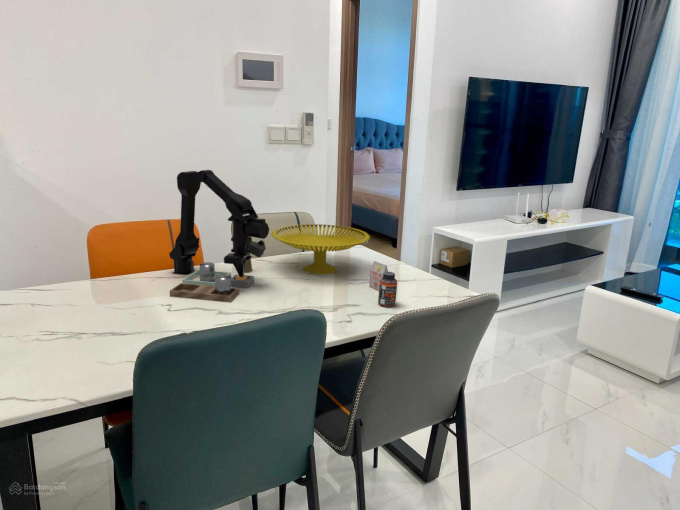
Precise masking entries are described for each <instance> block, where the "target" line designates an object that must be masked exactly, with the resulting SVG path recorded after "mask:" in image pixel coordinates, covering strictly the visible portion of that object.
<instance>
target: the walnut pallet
mask: <svg viewBox="0 0 680 510" xmlns="http://www.w3.org/2000/svg"><path fill="white" fill-rule="evenodd" d="M239 295H240V288H236V287H231V295H230V296H227V295H216V294H215V286H206V285H195V284H184V283H179V284H177V285H176V286H174V287H173V288H171V289H170V290H169V297H173V298H180V299H181V298H182V299H192V300H202V301H211V302H221V303H222V302H225V303H232V302H233V301H234V300H235V299H236V298H237V297H238V296H239Z"/></svg>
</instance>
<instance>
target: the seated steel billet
mask: <svg viewBox="0 0 680 510" xmlns="http://www.w3.org/2000/svg"><path fill="white" fill-rule="evenodd" d="M231 278H232V275H231V276H229V275H218V276H216V277H215V294H216V295H227V296H230V295H231V288H232V287H231Z"/></svg>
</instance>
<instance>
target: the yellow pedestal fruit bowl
mask: <svg viewBox="0 0 680 510" xmlns="http://www.w3.org/2000/svg"><path fill="white" fill-rule="evenodd" d="M322 228H323V229H322ZM314 229H315V230H314ZM333 230H334V231H333ZM318 231H319V232H318ZM270 235H271V237H272V238H274V239H275V240H277V241H278V242H280V243H283V244H285V245H287V246H289V247H292V248H294V249H298V250H302V251H309V252H310V251H311V252H313V262H312V263H310V264H309V263H308V264H307V265H304V266H303V267H302V270H304V271H303V272H305V273H307V272H308V273H307V274H311V273H313V274H312V275H329V274H330V273H331V274H334V273H336V272H337V268H336V267H335V266H333V265H331V264H329V263H328V262H327V252H337V251H338V252H340V251H344V250H349V249H351V248H354V247H356V246H359V245H361V244H363V243H365V242H368V241H369V240H370V239H371V235H369V234H368V232H366V231H364V230H361V229H357V228H355V227H354V228H353V227H349V226H343V225H336V224H324V223H323V224H321V223H320V224H319V223H317V224H315V223H313V224H311V223H310V224H294V225H285V226H282V227H279V228H278V227H277V229H273V230H272V231H271V233H270ZM335 271H336V272H335Z"/></svg>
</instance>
